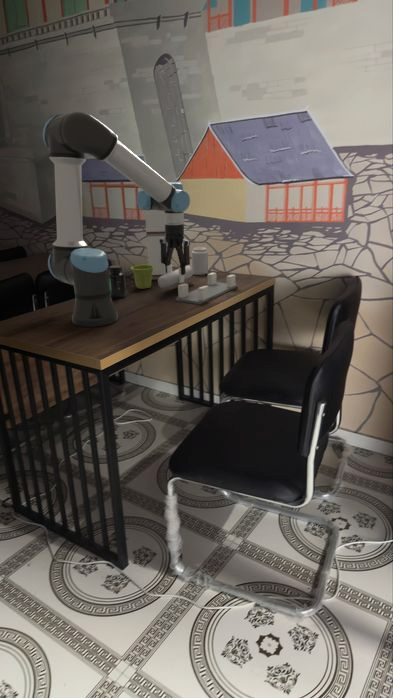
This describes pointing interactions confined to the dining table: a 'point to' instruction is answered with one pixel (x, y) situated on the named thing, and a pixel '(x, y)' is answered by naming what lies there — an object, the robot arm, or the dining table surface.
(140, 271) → the plant pot
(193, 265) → the can
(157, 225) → the brown-trimmed grey box
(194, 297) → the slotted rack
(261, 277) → the dining table surface
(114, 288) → the supplement bottle
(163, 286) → the tube
